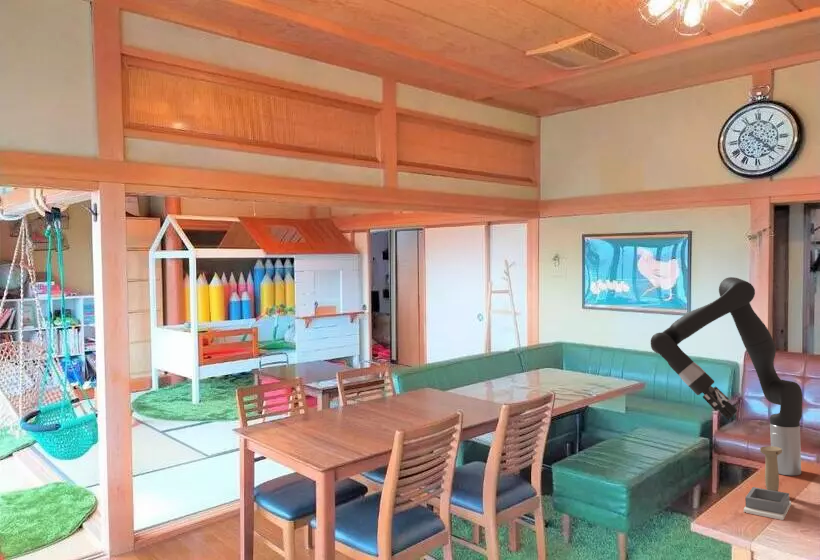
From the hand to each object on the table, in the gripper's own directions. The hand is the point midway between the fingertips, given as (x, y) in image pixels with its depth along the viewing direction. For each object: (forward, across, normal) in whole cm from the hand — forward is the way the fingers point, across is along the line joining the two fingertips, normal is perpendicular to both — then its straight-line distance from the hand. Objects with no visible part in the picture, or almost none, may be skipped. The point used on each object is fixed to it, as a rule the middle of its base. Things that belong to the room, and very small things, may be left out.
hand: (733, 415), depth 205 cm
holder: (+26, -14, +9) cm, 31 cm away
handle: (+26, 0, +9) cm, 27 cm away
